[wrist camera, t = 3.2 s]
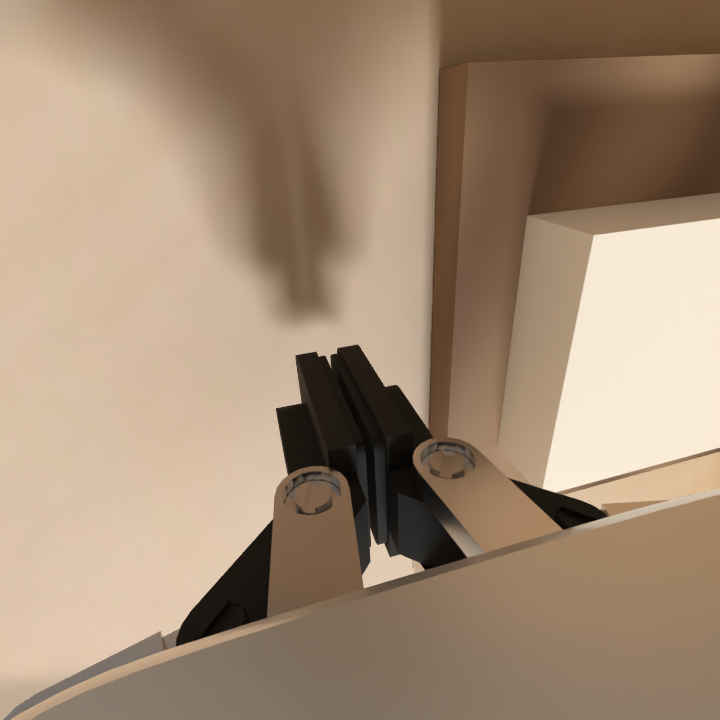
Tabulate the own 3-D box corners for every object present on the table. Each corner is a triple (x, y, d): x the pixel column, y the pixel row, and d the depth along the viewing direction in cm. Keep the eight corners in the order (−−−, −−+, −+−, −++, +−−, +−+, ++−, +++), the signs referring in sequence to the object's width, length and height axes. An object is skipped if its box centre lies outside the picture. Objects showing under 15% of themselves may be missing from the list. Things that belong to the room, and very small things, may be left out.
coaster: (755, 188, 14) (855, 200, 11) (678, 402, 17) (742, 441, 15) (527, 215, 12) (593, 235, 10) (497, 446, 16) (540, 496, 14)
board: (868, 53, 14) (932, 46, 13) (712, 425, 21) (744, 444, 20) (439, 69, 11) (468, 62, 10) (427, 499, 18) (442, 527, 17)
